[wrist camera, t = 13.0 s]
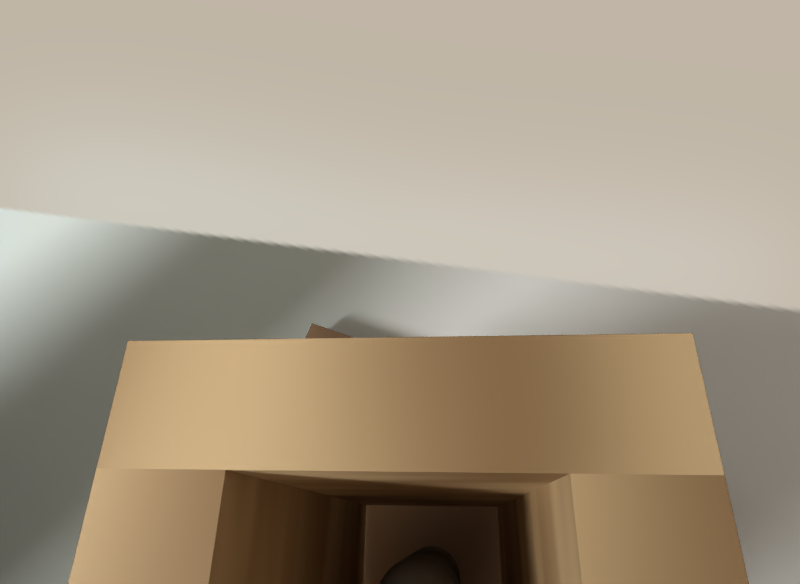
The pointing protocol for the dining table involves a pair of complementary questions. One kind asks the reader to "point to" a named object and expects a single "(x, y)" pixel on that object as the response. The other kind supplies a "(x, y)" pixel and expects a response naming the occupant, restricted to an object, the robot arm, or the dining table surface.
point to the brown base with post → (428, 538)
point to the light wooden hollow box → (409, 458)
